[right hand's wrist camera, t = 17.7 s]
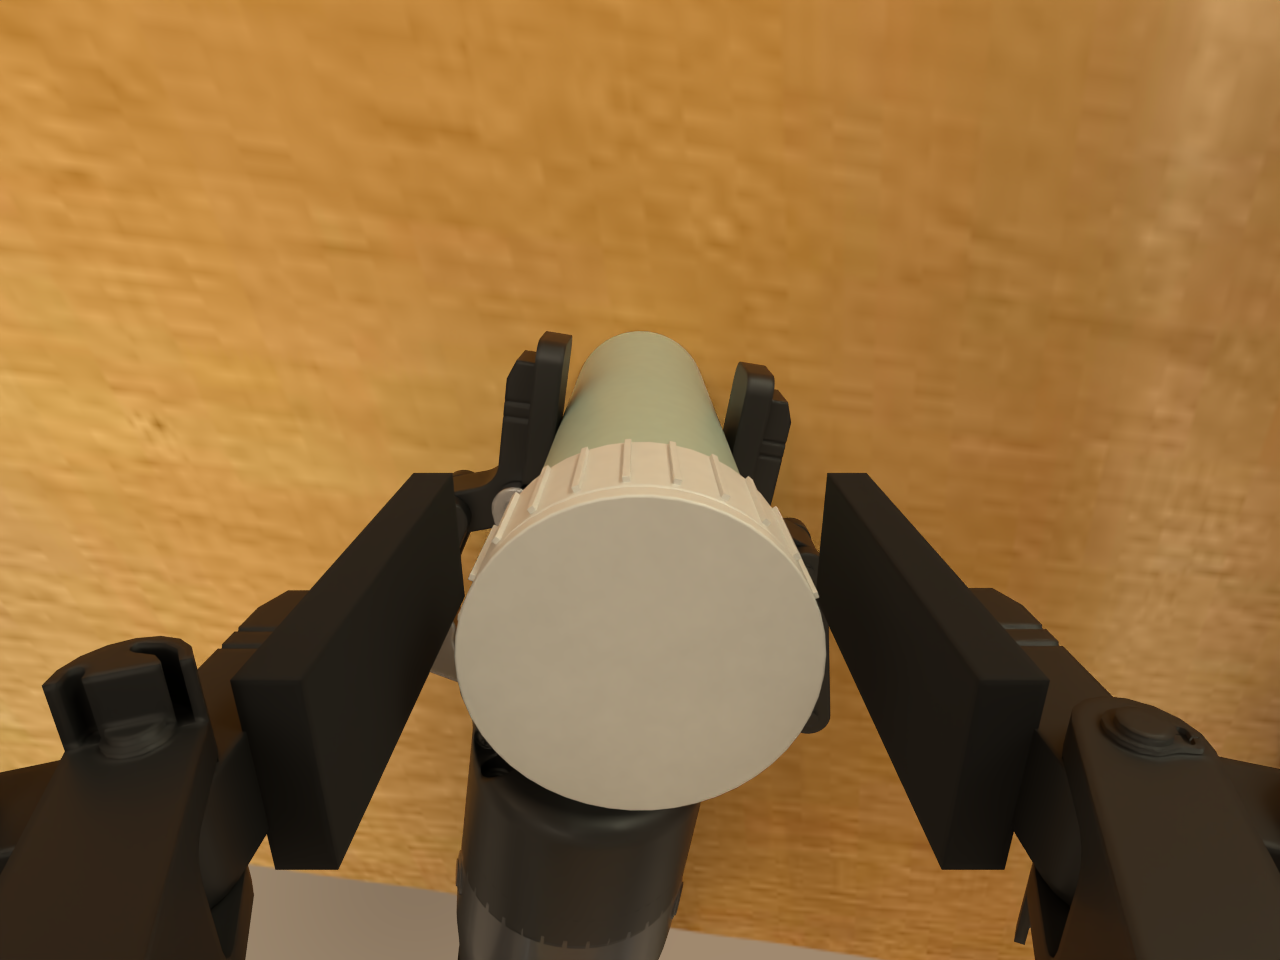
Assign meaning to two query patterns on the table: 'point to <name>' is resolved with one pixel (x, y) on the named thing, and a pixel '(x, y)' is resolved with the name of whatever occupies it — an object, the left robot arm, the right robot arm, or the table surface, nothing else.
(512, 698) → the lid
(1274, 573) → the table surface
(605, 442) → the jar
